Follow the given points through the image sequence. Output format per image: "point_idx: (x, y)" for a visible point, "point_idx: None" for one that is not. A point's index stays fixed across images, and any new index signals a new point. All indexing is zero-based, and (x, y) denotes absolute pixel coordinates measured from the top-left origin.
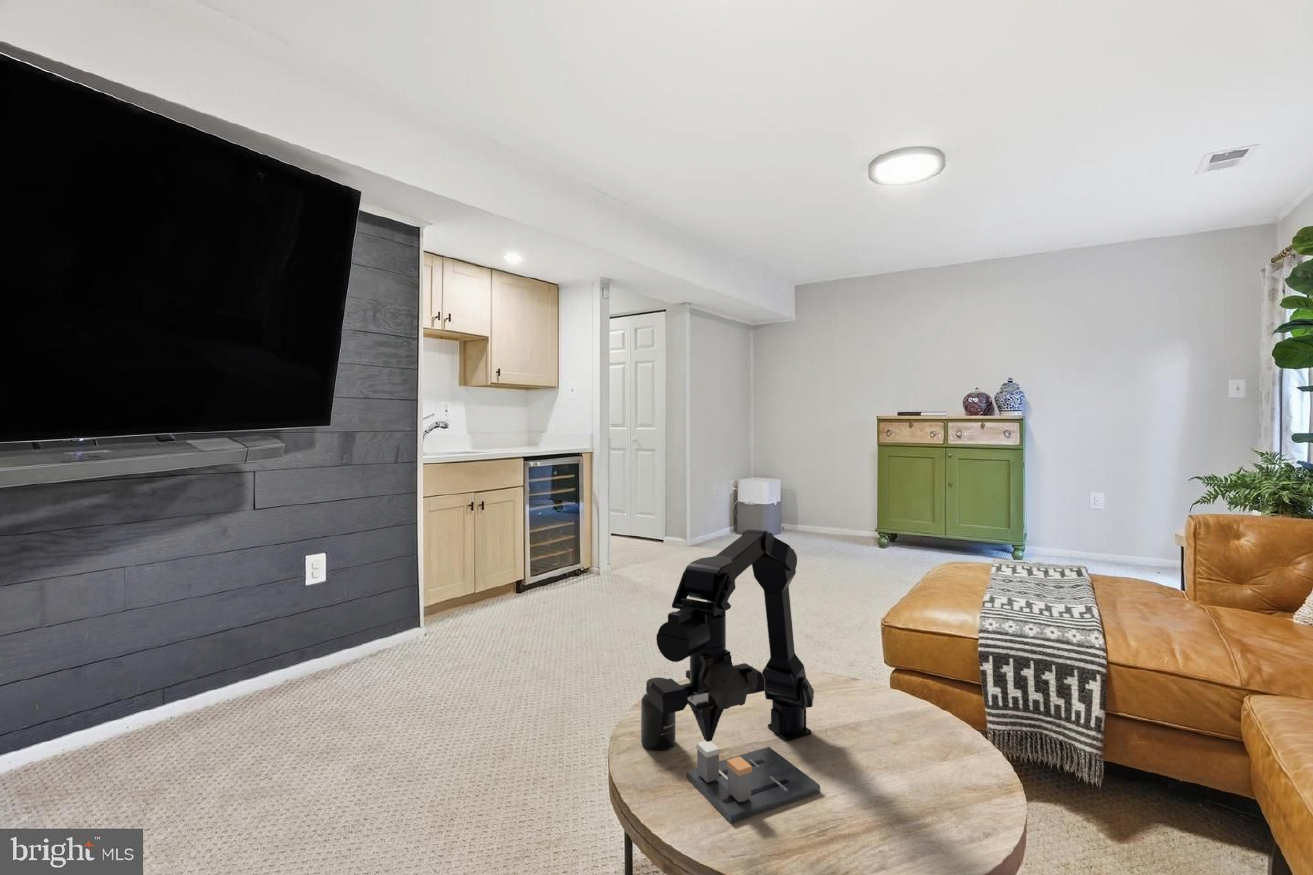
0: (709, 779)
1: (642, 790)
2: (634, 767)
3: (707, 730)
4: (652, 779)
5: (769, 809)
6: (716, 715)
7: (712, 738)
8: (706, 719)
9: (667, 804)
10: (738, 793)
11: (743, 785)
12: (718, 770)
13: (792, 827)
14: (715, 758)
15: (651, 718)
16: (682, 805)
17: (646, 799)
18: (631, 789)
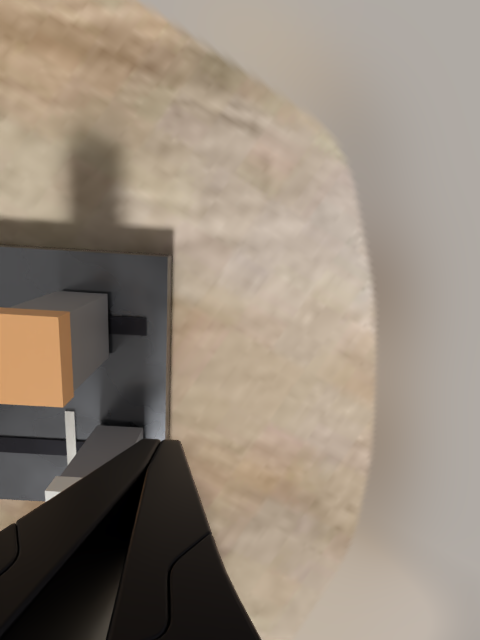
0: (131, 431)
1: (311, 502)
2: (273, 594)
3: (175, 485)
4: (259, 529)
5: (24, 246)
6: (5, 585)
7: (135, 443)
8: (181, 575)
9: (285, 419)
10: (97, 300)
11: (65, 301)
12: (87, 440)
13: (5, 137)
14: (81, 469)
15: None
16: (250, 395)
17: (323, 465)
18: (334, 519)
